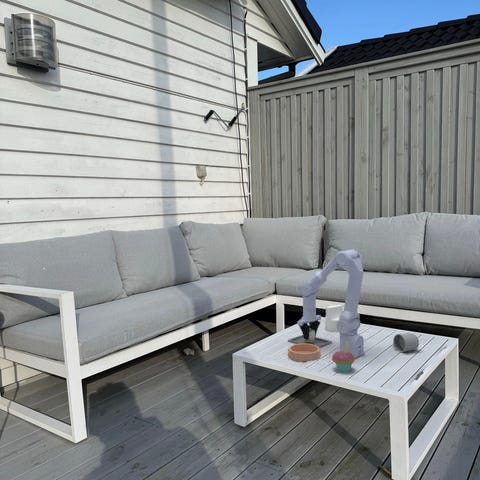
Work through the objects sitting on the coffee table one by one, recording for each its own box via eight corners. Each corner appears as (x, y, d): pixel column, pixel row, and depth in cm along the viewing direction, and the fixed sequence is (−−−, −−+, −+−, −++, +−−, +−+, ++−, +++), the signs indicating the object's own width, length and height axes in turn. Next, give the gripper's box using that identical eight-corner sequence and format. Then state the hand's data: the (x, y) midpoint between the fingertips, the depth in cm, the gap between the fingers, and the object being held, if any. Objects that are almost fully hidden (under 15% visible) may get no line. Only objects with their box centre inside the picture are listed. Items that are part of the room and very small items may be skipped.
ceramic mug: (420, 351, 191) (420, 334, 190) (405, 354, 188) (405, 336, 187) (402, 345, 201) (402, 328, 200) (387, 347, 198) (387, 330, 197)
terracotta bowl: (326, 356, 188) (326, 348, 187) (306, 364, 179) (306, 356, 179) (302, 349, 197) (302, 341, 197) (282, 356, 188) (282, 348, 188)
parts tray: (332, 344, 203) (332, 341, 203) (315, 350, 195) (315, 347, 195) (304, 337, 215) (304, 334, 215) (287, 342, 207) (287, 339, 206)
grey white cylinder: (334, 333, 220) (334, 309, 219) (321, 329, 227) (321, 305, 226) (347, 330, 225) (347, 306, 224) (334, 326, 232) (334, 303, 231)
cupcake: (358, 369, 173) (358, 338, 172) (348, 375, 167) (347, 344, 166) (338, 364, 179) (338, 334, 178) (327, 370, 172) (327, 339, 171)
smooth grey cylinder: (316, 341, 204) (316, 330, 204) (310, 343, 201) (310, 332, 201) (309, 338, 208) (308, 328, 207) (302, 341, 205) (302, 330, 204)
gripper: (312, 304, 211) (312, 332, 212) (292, 310, 201) (292, 339, 202) (324, 306, 206) (324, 335, 207) (304, 312, 196) (304, 343, 197)
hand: (309, 338), depth 204 cm, fingers closed on smooth grey cylinder, 5 cm apart
